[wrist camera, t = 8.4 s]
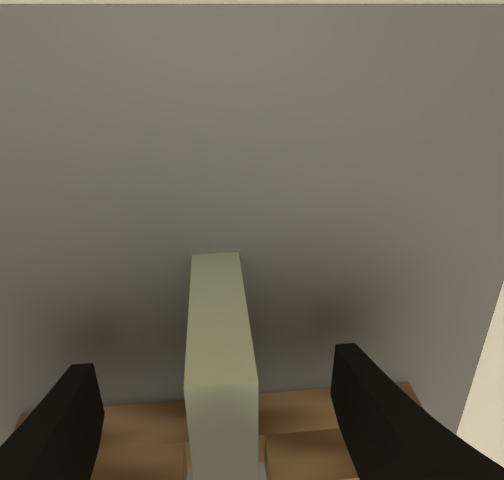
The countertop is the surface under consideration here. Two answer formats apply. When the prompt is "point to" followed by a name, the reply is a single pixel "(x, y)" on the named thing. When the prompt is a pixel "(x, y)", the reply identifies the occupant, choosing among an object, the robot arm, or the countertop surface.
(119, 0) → the countertop surface
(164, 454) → the oak slotted plate
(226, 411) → the sage notched plate
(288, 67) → the board
